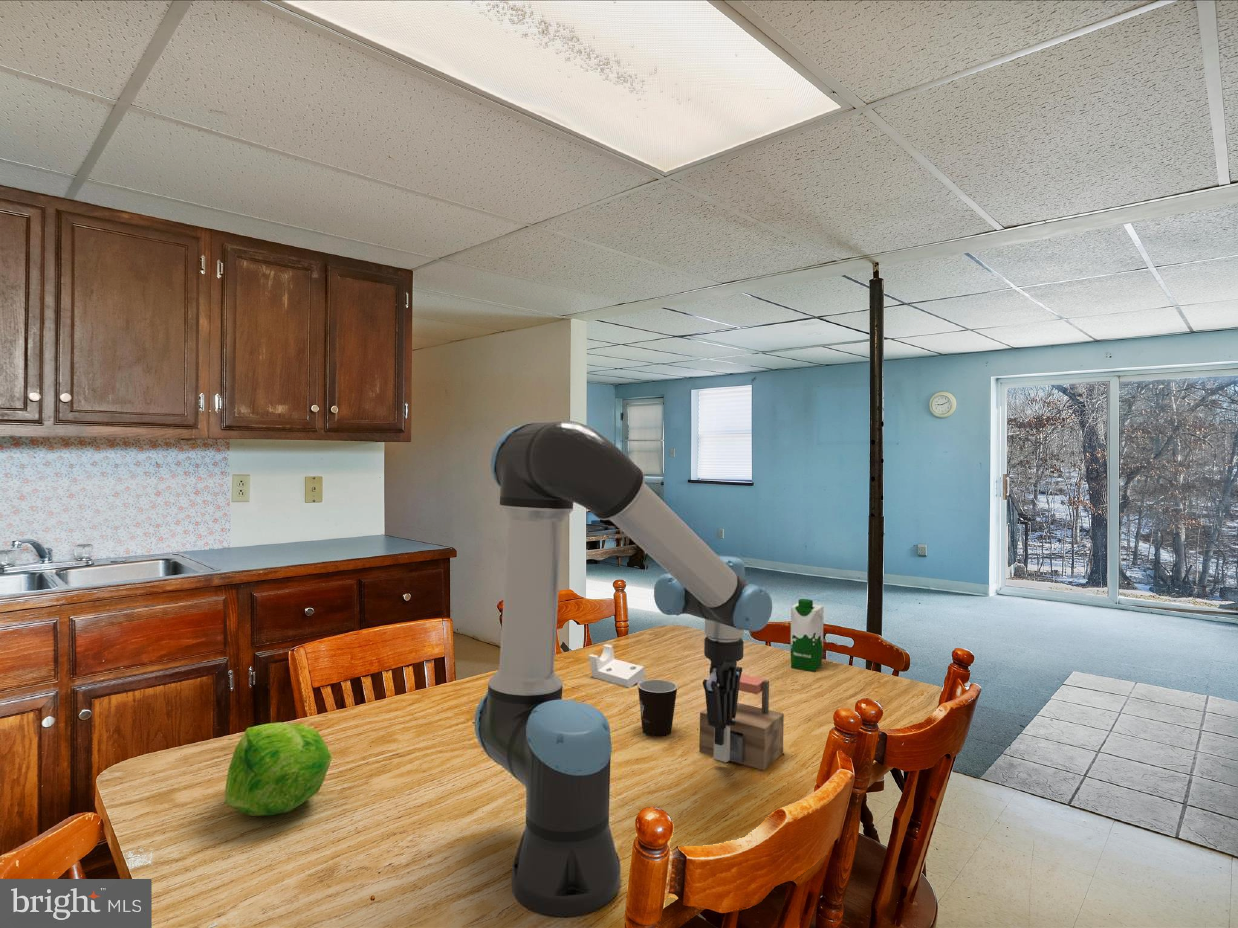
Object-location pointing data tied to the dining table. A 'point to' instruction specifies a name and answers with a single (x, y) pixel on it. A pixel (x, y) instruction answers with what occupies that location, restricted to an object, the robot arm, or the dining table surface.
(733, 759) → the pin
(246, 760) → the lettuce
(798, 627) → the milk carton
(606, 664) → the bracket
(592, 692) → the dining table surface
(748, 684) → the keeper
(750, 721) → the block
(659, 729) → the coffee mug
